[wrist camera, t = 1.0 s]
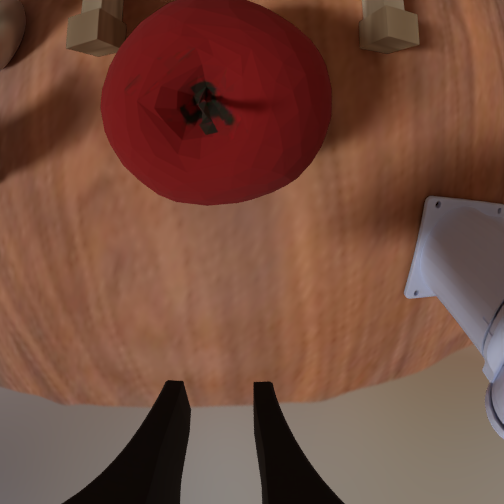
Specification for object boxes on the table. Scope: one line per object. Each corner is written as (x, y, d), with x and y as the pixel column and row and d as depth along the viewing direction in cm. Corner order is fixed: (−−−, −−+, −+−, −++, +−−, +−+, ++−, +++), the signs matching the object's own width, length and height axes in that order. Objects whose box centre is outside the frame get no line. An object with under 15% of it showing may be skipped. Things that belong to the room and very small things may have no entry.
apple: (328, 57, 14) (422, 11, 5) (277, 199, 18) (312, 298, 9) (170, 15, 12) (98, -66, 3) (127, 158, 16) (23, 217, 7)
